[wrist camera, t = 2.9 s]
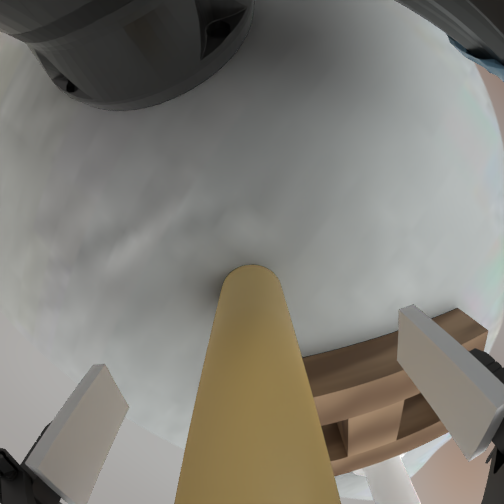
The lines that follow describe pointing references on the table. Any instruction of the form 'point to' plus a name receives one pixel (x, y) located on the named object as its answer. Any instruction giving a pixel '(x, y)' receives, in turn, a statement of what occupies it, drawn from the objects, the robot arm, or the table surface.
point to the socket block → (377, 397)
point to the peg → (255, 407)
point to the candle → (390, 482)
